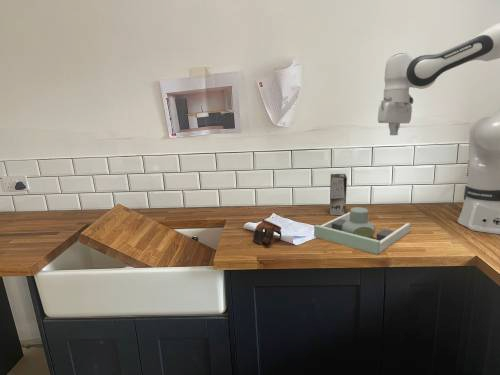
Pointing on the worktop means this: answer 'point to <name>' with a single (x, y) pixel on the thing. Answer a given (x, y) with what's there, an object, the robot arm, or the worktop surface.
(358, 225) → the air freshener
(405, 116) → the robot arm
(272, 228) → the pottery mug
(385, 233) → the blocks
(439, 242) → the worktop surface
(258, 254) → the worktop surface
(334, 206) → the coffee box
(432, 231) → the worktop surface
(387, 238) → the frame
